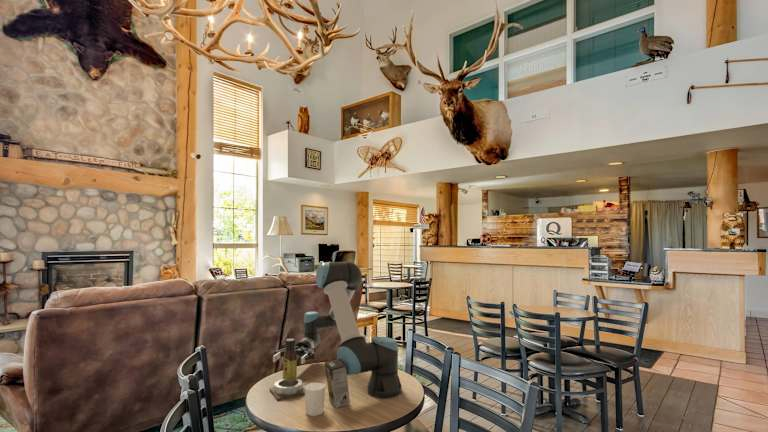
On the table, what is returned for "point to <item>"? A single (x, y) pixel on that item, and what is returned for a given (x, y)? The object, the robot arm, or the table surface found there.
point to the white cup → (314, 398)
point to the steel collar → (282, 388)
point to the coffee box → (337, 383)
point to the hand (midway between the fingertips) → (287, 360)
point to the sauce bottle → (290, 360)
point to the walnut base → (282, 397)
